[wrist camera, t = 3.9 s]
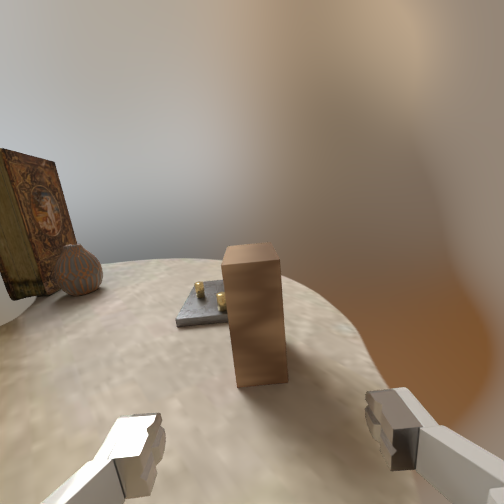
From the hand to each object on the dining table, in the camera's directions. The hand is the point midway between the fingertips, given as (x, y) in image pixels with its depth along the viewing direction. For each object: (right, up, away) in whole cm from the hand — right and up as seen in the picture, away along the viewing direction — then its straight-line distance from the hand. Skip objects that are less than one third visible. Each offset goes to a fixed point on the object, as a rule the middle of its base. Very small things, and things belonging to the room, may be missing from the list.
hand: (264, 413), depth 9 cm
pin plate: (-4, -1, +25) cm, 25 cm away
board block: (0, -3, +12) cm, 12 cm away
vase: (-31, -1, +34) cm, 46 cm away
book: (-41, -1, +40) cm, 57 cm away
